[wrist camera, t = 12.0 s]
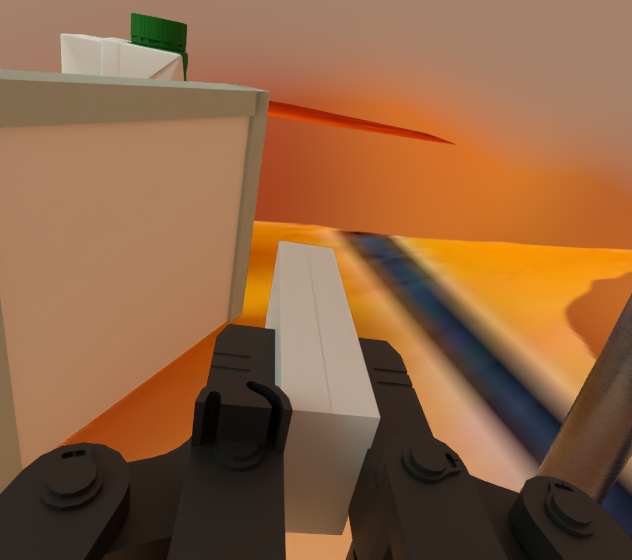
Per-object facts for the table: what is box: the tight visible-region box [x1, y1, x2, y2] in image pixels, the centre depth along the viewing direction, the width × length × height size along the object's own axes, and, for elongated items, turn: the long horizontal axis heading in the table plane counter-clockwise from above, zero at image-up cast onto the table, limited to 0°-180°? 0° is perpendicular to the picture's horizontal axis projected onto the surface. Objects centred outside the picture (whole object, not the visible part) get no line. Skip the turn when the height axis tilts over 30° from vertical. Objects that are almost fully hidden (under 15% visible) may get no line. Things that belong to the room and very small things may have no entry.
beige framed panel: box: [0, 69, 270, 494], centre depth 24 cm, size 19×2×16 cm, turn 157°
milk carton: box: [61, 13, 188, 81], centre depth 38 cm, size 9×9×20 cm
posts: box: [535, 294, 632, 505], centre depth 15 cm, size 27×2×20 cm, turn 95°
